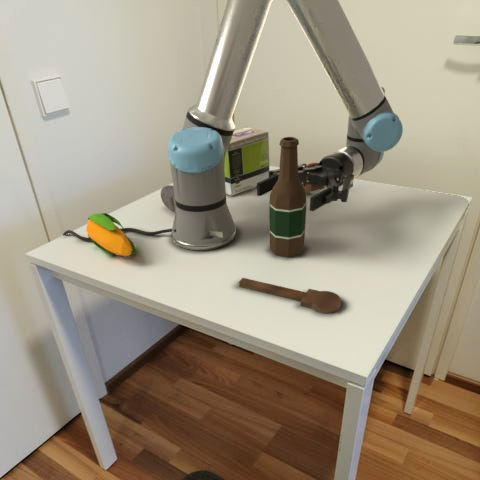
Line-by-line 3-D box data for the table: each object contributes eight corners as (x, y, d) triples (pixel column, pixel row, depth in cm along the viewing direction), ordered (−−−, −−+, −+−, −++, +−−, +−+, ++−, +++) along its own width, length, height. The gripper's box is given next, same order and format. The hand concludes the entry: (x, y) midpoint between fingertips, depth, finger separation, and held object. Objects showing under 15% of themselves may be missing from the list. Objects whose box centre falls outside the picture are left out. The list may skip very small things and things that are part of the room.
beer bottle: (262, 250, 102) (260, 139, 87) (285, 238, 106) (287, 131, 91) (288, 261, 97) (291, 147, 83) (311, 248, 101) (317, 137, 87)
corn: (103, 201, 108) (142, 228, 95) (112, 230, 113) (150, 259, 100) (74, 212, 105) (110, 241, 92) (84, 241, 110) (120, 272, 97)
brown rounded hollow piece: (332, 185, 133) (337, 165, 125) (319, 209, 130) (324, 190, 122) (295, 170, 135) (298, 150, 127) (281, 193, 132) (283, 174, 124)
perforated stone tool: (156, 206, 125) (152, 181, 120) (172, 201, 127) (169, 176, 123) (185, 223, 115) (182, 197, 111) (202, 217, 117) (199, 191, 113)
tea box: (248, 175, 141) (247, 125, 132) (270, 183, 135) (270, 131, 126) (210, 188, 134) (205, 136, 125) (231, 197, 128) (228, 143, 119)
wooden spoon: (234, 291, 89) (234, 286, 88) (247, 277, 92) (247, 272, 92) (334, 316, 81) (335, 310, 80) (344, 300, 85) (344, 294, 84)
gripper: (386, 195, 100) (334, 229, 88) (295, 173, 114) (239, 200, 102) (391, 161, 96) (338, 192, 83) (296, 143, 110) (237, 167, 97)
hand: (283, 196), depth 93 cm, fingers open, 13 cm apart
